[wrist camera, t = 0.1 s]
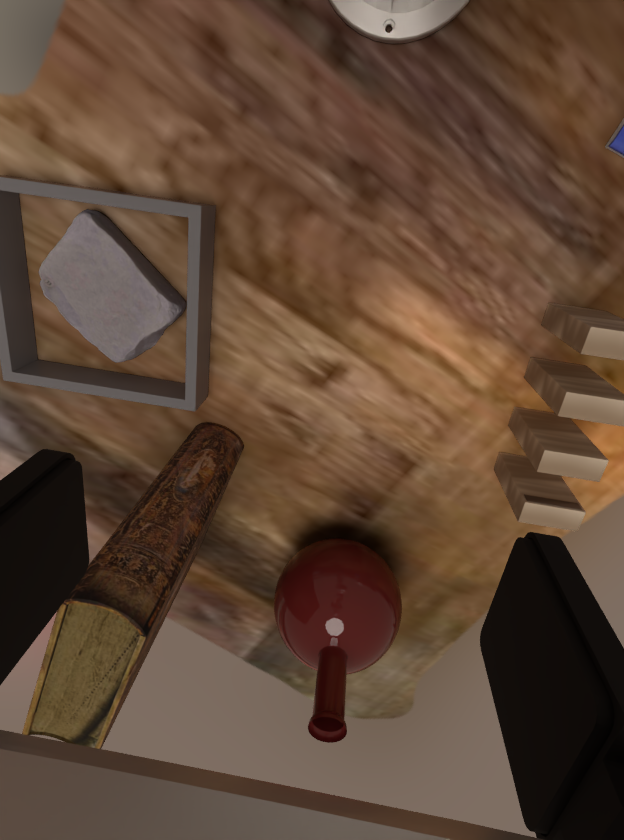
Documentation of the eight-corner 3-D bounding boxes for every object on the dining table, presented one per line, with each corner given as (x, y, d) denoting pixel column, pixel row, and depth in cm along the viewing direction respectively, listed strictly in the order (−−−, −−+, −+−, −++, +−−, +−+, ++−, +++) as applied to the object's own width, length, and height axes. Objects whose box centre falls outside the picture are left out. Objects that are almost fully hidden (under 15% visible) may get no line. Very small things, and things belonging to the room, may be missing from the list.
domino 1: (548, 302, 43) (590, 326, 34) (606, 311, 42) (662, 337, 34) (541, 325, 43) (580, 353, 35) (597, 333, 43) (650, 364, 35)
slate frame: (5, 175, 43) (-28, 172, 39) (215, 205, 42) (201, 205, 39) (29, 367, 51) (3, 380, 47) (207, 396, 50) (195, 411, 46)
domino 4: (499, 451, 49) (525, 501, 41) (549, 459, 49) (585, 511, 40) (493, 469, 50) (517, 522, 42) (542, 477, 50) (576, 532, 41)
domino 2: (530, 357, 45) (566, 392, 37) (585, 365, 44) (634, 402, 36) (523, 377, 46) (557, 416, 37) (577, 385, 45) (623, 426, 37)
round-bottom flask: (299, 608, 60) (268, 782, 42) (272, 520, 55) (225, 676, 37) (405, 598, 58) (422, 779, 40) (388, 506, 53) (398, 665, 35)
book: (200, 415, 51) (63, 587, 28) (248, 437, 51) (152, 623, 29) (157, 529, 58) (19, 741, 35) (200, 547, 58) (91, 768, 35)
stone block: (144, 360, 51) (198, 301, 46) (116, 379, 47) (172, 317, 42) (56, 271, 49) (104, 198, 43) (19, 283, 45) (66, 205, 39)
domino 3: (514, 406, 47) (544, 450, 39) (566, 414, 47) (608, 460, 38) (508, 425, 48) (536, 471, 39) (559, 433, 47) (599, 481, 39)
